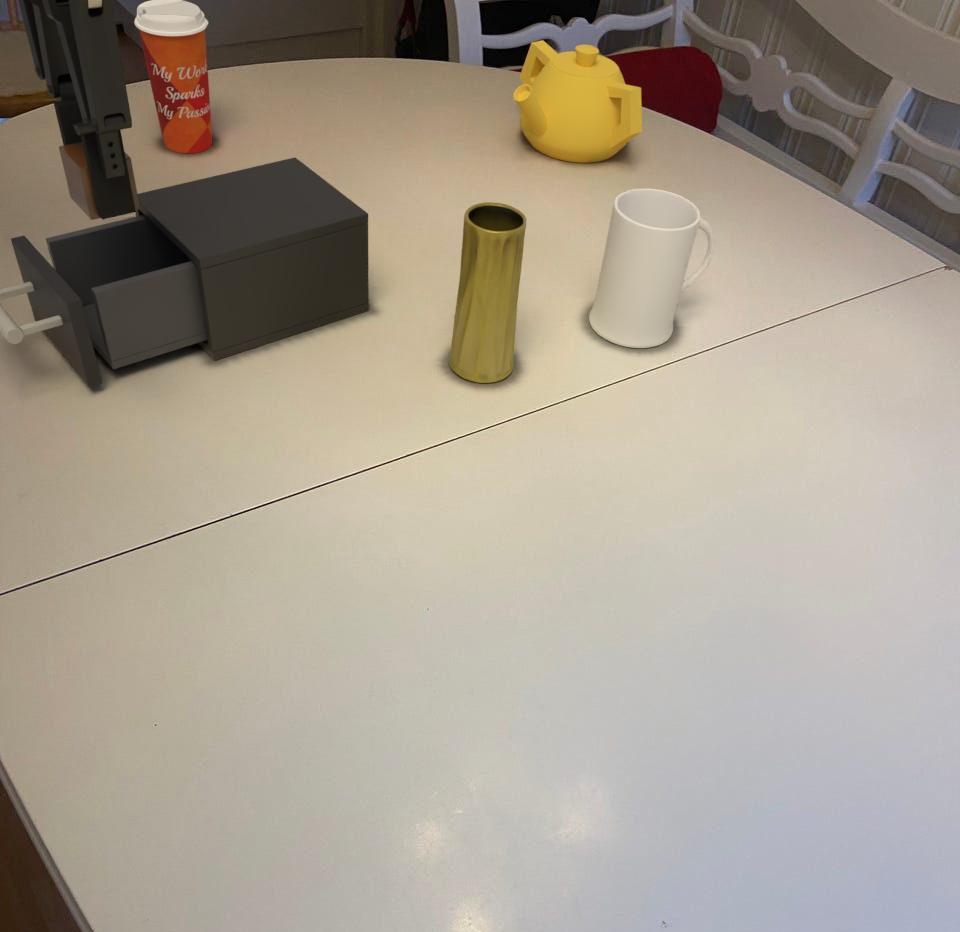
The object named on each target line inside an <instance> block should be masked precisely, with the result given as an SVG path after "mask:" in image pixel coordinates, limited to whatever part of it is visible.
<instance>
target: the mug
mask: <svg viewBox="0 0 960 932" xmlns="http://www.w3.org/2000/svg"><path fill="white" fill-rule="evenodd" d="M699 229H700V230H701V231H703V232H704V233H705V235H706V237H707V248H706V249H707V250H706V252H705V255H704V257H703V260H702V262H701V263H700V265H699V266H698V267H697V269H696V270H695V271H694V272H693V273H692V274H691V275H690V276H688V277H687V278H686V279H685V277H686V274H687V271H688V266H689V262H690V258H691V254H692V251H693V248H694V244H695V241H696V240H695V239H696V236H697V232H698V230H699ZM605 241H606V242H605V247H604V252H603V258H602V261H601V266H600V272H599V277H598V281H597V287H596V292H595V297H594V300H593V301H594V302H593V304H592V307H591V309H590V312H589V316H588V321H589V325H590V326H591V328H592V330H593V331H594V332H595V333H596V334H597V335H598V336H600V337H601V338H602V339H604V340H606V341H608V342H609V343H612V344H614V345H618V346H622V347H625V348H633V349H648V348H654V347H658V346H660V345H662V344H664V343H666V342H667V341H668V340H669V339H670V338H671V337H672V335H673V331H674V319H675V315H676V312H677V307H678V304H679V299H680V296H681V293H683V292H686V290H688V289H689V288H690V287H692V286H693V285H695V284H696V282H698V281H699V279H700V278H701V277H702V276H703V275H704V274H705V272H706V271H707V269H708V268H709V265H710V263H711V261H712V258H713V255H714V251H715V245H716V244H715V241H716V240H715V234H714V231H713V229H712V227H711V225H710V224H709V223H708V221H707V220H705V219H704V218H702V217H701V211H700V209H699V208H698V206H696V204H695V203H693V202H692V201H691V200H689V199H688V198H686V197H684V196H681V195H679V194H678V193H675V192H671V191H667V190H663V189H658V188H643V187H642V188H633V189H629V190H625V191H623V192H621V193H620V194H618V195H617V196H616V197H615V199H614V200H613V206H612V210H611V216H610V221H609V226H608V231H607V236H606V240H605Z"/></svg>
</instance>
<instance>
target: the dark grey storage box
mask: <svg viewBox="0 0 960 932" xmlns="http://www.w3.org/2000/svg"><path fill="white" fill-rule="evenodd" d="M137 195H138V200H139V206H140V209H138V210H136V212H134V213H135V217H136V216H140V215H145V216H146V217H147V218H148V219H149V220H150V221H151V222H152V223H153V224H154V225H155V226H156V227H157V228H159V229H160V230H161V231H162V232H163V233H164V234H165V235H166V236H167V237H168V238H169V239H170V240H171V241H172V242H173V243H174V244H175V245H176V246H177V247H178V248H179V249H180V250H181V251H182V252H184V253H185V254H186V255H187V256H188V257H189V258H190V259H191V260H192V261H193V262H194V263H195V264H196V265H197V273H198V280H199V286H200V293H201V300H202V306H203V313H204V320H205V326H206V333H207V340H205V341H202V342H199V343H197V345H198V346H199V347H200V348H201V349H202V350H203V351H204V352H205V353H207V355H208V356H209V357H210V358H211V359H212V360H213V361H214V362H215V361H219V360H222V359H225V358H227V357H230V356H234V355H236V354H240V353H243V352H246V351H249V350H252V349H254V348H255V349H256V348H258V347H261V346H264V345H267V344H270V343H273V342H277V341H280V340H282V339H286V338H288V337H289V338H290V337H292V336H295V335H298V334H301V333H304V332H307V331H310V330H313V329H316V328H319V327H322V326H326V325H328V324H332V323H335V322H338V321H341V320H344V319H346V318H350V317H353V316H357V315H359V314H362V313H366V312H368V311H369V310H370V309H369V307H370V305H369V304H370V303H369V300H370V299H369V296H370V295H369V213H368V212H367V211H365V210H364V209H363V208H362V207H360V206H359V205H358V204H356V202H354V201H352V200H351V199H350V198H348V197H347V196H346V195H345V194H343V193H342V192H341V191H340V190H338V189H337V188H336V187H334V186H333V185H332V184H331V183H329V182H328V181H327V180H326V179H324V178H323V177H322V176H320V175H319V174H317V172H315V171H313V170H312V169H311V168H310V167H308V165H306V164H305V163H303V162H302V161H301V160H299V158H297V157H291V158H286V159H281V160H278V161H277V160H276V161H273V162H269V163H265V164H260V165H256V166H251V167H247V168H242V169H239V170H235V171H231V172H225V173H221V174H216V175H214V176H208V177H203V178H200V179H195V180H191V181H187V182H182V183H179V184H173V185H170V186H165V187H161V188H157V189H153V190H148V191H144V192H140V193H139V192H138V193H137Z"/></svg>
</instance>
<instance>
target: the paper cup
mask: <svg viewBox="0 0 960 932" xmlns="http://www.w3.org/2000/svg"><path fill="white" fill-rule="evenodd" d="M134 25H135V27H136V28H137V29H138V32H139V36H140V41H141V45H142V51H143V55H144V59H145V65H146V69H147V73H148V74H147V75H148V78H149V82H150V88H151V92H152V96H153V101H154V105H155V110H156V115H157V119H158V124H159V127H160V132H161V137H162V140H163V143H164V146H165V147H166V149H168V150H170V151H172V152H175V153H179V154H196V153H202V152H205V151H207V150H209V149H210V148H211V147H212V145H213V132H212V131H213V129H212V114H211V112H212V111H211V97H210V84H209V83H210V82H209V70H208V56H207V55H208V54H207V42H206V40H207V39H206V28H207V27H208V25H209V20H208V19H207V18H206V17H205V13H204V12H203V11H202V10H201V8H200V7H199V6H198V5H197V4H195V3H192V2H190V1H187V0H148V1H144V2H142V3H140V4H139V5H138V6H137V8H136V17H135V18H134Z"/></svg>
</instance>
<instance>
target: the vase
mask: <svg viewBox="0 0 960 932" xmlns="http://www.w3.org/2000/svg"><path fill="white" fill-rule="evenodd" d="M526 228H527V217H526V215H525V214H524V213H523V212H522V211H521V210H520V209H517V208H516V207H514V206H512V205H509V204H506V203H502V202H491V201H489V202H480V203H479V202H478V203H476V204H473V205H472V206H470V207H468V208H467V209H466V211H465V212H464V215H463V228H462V242H461V243H462V244H461V254H460V271H459V280H458V281H459V282H458V289H457V296H456V302H455V303H456V304H455V311H454V320H453V327H452V336H451V344H450V345H451V346H450V352H449V356H448V365H449V367H450V369H451V370H452V371H453V372H454V373H455V374H456V375H458V377H460V378H461V379H464V380H467V381H469V382H473V383H479V384H489V383H490V384H491V383H496V382H500V381H502V380H504V379H506V378H507V377H508V376H509V375H510V374H511V373H512V372H513V370H514V367H515V366H514V353H515V344H516V331H517V330H516V329H517V314H518V303H519V300H518V299H519V293H520V284H521V274H522V264H523V255H524V246H525V237H526V236H525V235H526Z"/></svg>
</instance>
